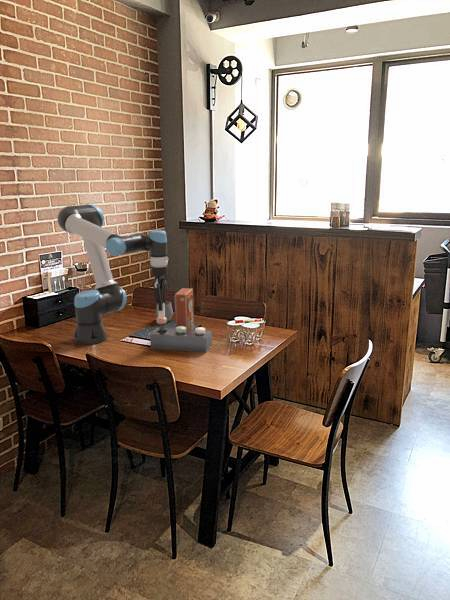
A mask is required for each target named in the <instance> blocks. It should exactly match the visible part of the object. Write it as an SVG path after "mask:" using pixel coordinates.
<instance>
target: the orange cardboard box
mask: <svg viewBox="0 0 450 600" xmlns="http://www.w3.org/2000/svg"><path fill="white" fill-rule="evenodd" d="M193 293H194V289H193V288H187V287H186V288H185V287H183V288H181V289H180V290H179V291H177V292H175V294H174V315H175V324H176V325H175V326H176V327H178V326H184V327H186V329H192V330H195V328H194V322H195V321H194V304H195V303H194V300H195V299H194V294H193ZM176 327H175V328H176Z"/></svg>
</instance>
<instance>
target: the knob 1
mask: <svg viewBox="0 0 450 600" xmlns="http://www.w3.org/2000/svg"><path fill="white" fill-rule="evenodd" d="M155 319H156V324H158V326H159V327H158V328H159V332H160V333H165V328H166V327H165V324H167V323H168V321H167V318H166V317H164V318H163V317H158V318H157V317H156V318H155Z"/></svg>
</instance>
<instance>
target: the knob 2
mask: <svg viewBox="0 0 450 600" xmlns="http://www.w3.org/2000/svg"><path fill="white" fill-rule="evenodd" d="M194 330H195V334H198V335H203V334H205V330H206V327H201V326H200V327H199V326H198V327H195V328H194Z"/></svg>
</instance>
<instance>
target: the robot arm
mask: <svg viewBox="0 0 450 600" xmlns="http://www.w3.org/2000/svg"><path fill="white" fill-rule="evenodd" d="M104 216H105V215H104V213H103V211H102V210H101V208H100V207H98V206H97V205H95V204H89V203H88V204H78V205H67V206H65V207H63V208H62V209H60V210H59V212H58V214H57V224H58V226H59V227H60V229H62V231H64V232H66V233H68V234H71V235H75V234H76V235H78V236H79V237H81V238H82V241H83V244H84V247H85V249H86V254H87V257H88V260H89V264H90V267H91V271H92V272H91V273H92V274H93V278H94V282H95V286H94V289H88V290H87V289H86V290H82V291H80V292H77V293H76V294H75V295H74V304H73V305H74V311H75V322H76V323H75V325H76V326H75V329H74V330H75V331H74V334H73V342H74V343H75V344H77V345H96V344H99V343H103V342H105V341H106V340H107V339H108V338H107V333H106V330H105V327H104V325H103V322H102V316H104V315H109V314H112V313H116V312H118V311H121V310H122V309H124V307H125V306H126V303H127V299H128V298H127V297H128V296H127V293H126V291H125V289H123V287H121V286H119V283H118V281H115V279H114V277H113V273H112V270H111V267H110V264H109V261H108V259H109V258H108V256H107V253H108V254H109V255H110V256H119V257H120V256H122V255H128V254H133V253H138V252H149V257H150V260H149V261H150V274H151V276H154V283H152V287H153V292H154V298H155V299H154V300H155V304H156V305H157V304H158V317H163V318H164V317H165V304H164V302H166V301H167V283H168V279H167V278H166V277H165V276H167V275H168V274H169V266H168V261H170V260H169V257H168V237H167V236H168V235H167V232H166V231H165V230H164V229H163V230H161V229H160V230H159V229H158V230H150V231H149V233H148V234H145V233H132V234H131V235H125V236H121V235H119V234H116V233H114V232H112V231H110V230H108V229H106V228H103V225H104V223H105V222H104V221H105V217H104ZM105 249H106V250H105ZM106 252H107V253H106Z"/></svg>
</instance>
